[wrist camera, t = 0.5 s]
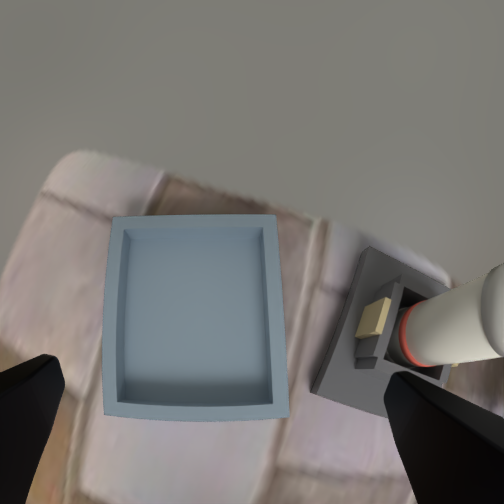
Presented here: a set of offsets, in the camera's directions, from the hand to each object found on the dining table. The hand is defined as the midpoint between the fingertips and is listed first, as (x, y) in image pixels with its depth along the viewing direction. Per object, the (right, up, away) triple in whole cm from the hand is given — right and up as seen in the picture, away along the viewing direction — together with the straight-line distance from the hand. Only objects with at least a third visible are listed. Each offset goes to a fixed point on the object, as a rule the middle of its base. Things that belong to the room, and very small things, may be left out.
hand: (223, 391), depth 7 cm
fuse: (+12, -3, +14) cm, 19 cm away
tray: (-3, -1, +14) cm, 15 cm away
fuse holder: (+12, -4, +15) cm, 20 cm away
